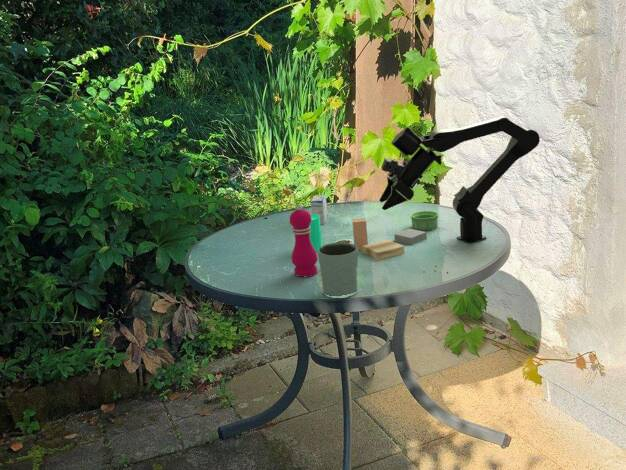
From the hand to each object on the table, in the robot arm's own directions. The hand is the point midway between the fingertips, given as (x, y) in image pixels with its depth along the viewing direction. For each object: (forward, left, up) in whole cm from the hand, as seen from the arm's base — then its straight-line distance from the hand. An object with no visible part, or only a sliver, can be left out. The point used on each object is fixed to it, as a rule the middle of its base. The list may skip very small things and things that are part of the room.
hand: (381, 205), depth 203 cm
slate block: (0, -10, -13) cm, 16 cm away
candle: (+12, +18, -13) cm, 26 cm away
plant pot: (-25, +28, -13) cm, 40 cm away
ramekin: (+8, -21, -13) cm, 26 cm away
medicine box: (+39, +2, -13) cm, 41 cm away
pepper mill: (-6, +29, -13) cm, 33 cm away
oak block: (-5, +3, -13) cm, 15 cm away
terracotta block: (+3, +6, -13) cm, 15 cm away
